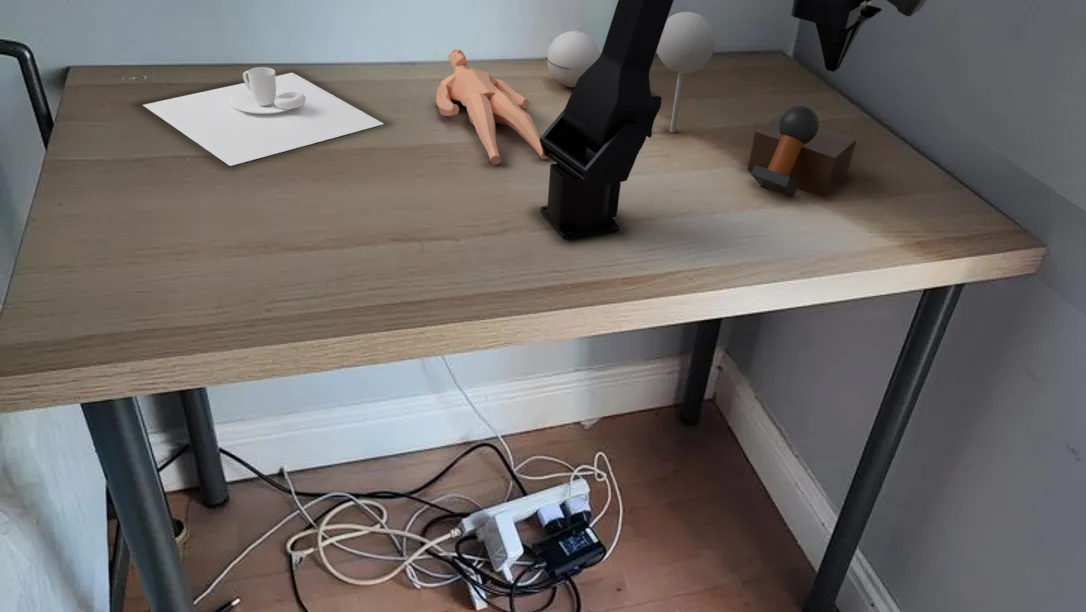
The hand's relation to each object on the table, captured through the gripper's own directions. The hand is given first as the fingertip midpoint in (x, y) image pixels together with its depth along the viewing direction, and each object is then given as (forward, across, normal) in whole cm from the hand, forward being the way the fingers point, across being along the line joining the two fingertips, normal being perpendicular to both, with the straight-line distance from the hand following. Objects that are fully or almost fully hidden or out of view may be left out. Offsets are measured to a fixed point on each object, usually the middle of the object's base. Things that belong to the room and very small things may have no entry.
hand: (832, 69), depth 110 cm
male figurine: (+12, -18, +36) cm, 42 cm away
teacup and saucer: (+12, -36, +56) cm, 67 cm away
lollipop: (+12, -4, +17) cm, 21 cm away
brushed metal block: (+12, -4, 0) cm, 13 cm away
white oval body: (+12, -1, +34) cm, 36 cm away
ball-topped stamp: (+12, -9, 0) cm, 15 cm away
